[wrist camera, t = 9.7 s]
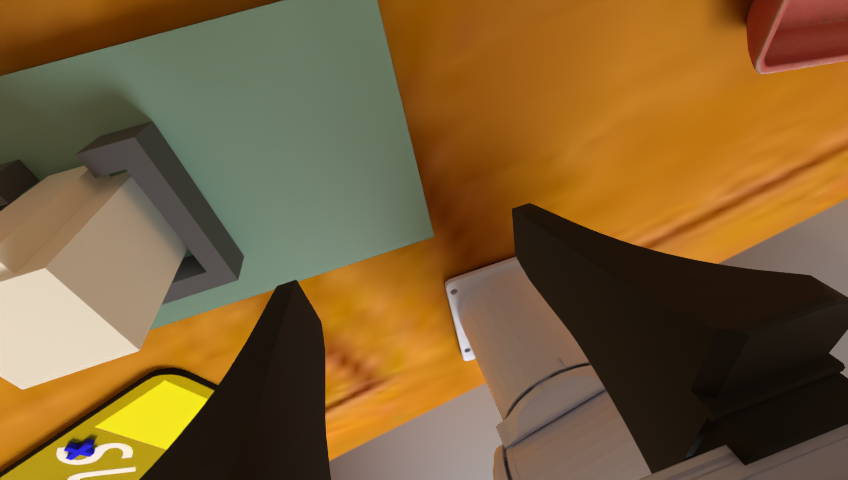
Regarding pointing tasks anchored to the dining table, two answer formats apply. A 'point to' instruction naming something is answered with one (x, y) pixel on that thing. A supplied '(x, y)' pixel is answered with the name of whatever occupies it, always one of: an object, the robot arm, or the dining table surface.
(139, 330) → the keyed plug
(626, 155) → the dining table surface
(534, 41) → the dining table surface
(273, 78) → the board
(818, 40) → the plant saucer
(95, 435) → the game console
